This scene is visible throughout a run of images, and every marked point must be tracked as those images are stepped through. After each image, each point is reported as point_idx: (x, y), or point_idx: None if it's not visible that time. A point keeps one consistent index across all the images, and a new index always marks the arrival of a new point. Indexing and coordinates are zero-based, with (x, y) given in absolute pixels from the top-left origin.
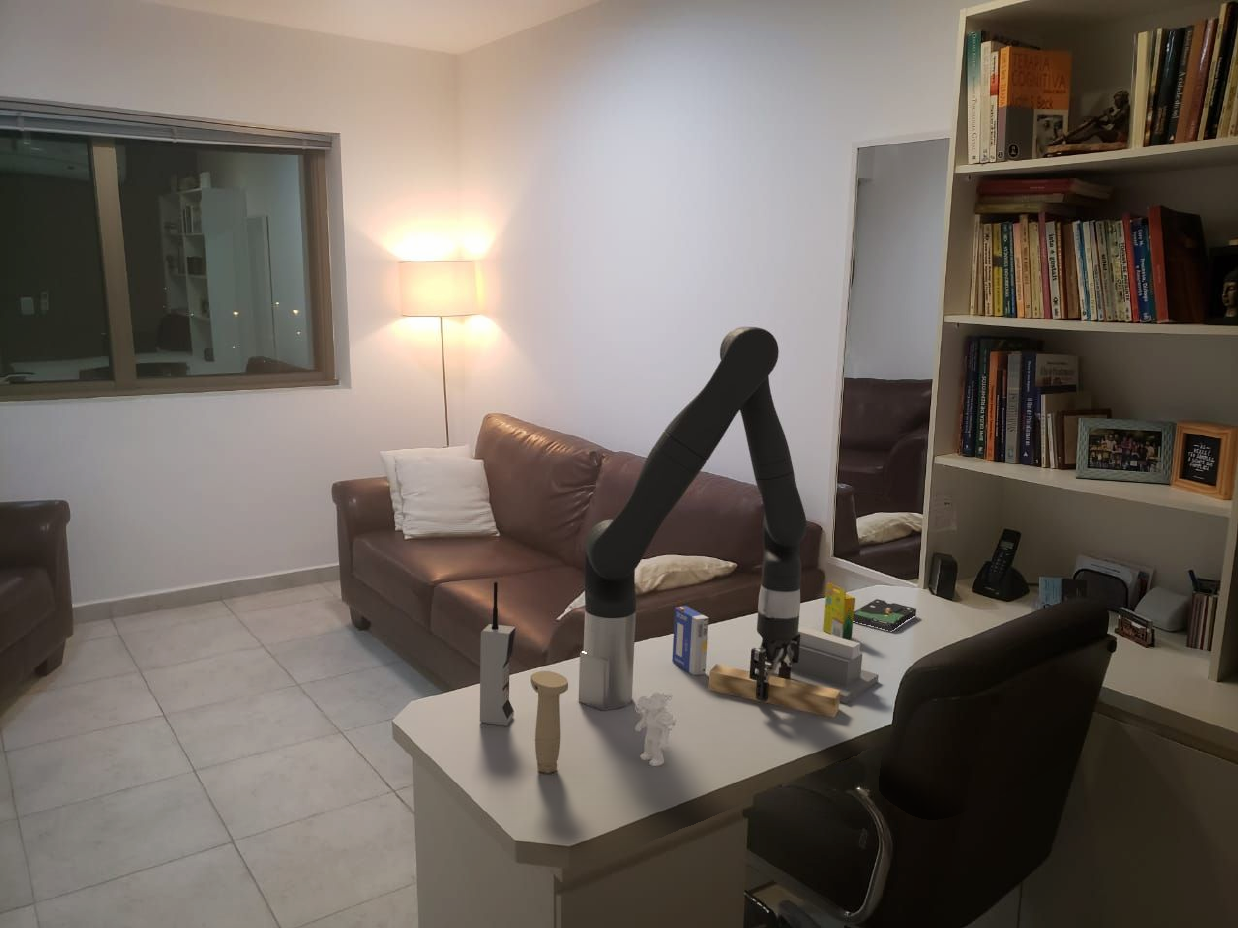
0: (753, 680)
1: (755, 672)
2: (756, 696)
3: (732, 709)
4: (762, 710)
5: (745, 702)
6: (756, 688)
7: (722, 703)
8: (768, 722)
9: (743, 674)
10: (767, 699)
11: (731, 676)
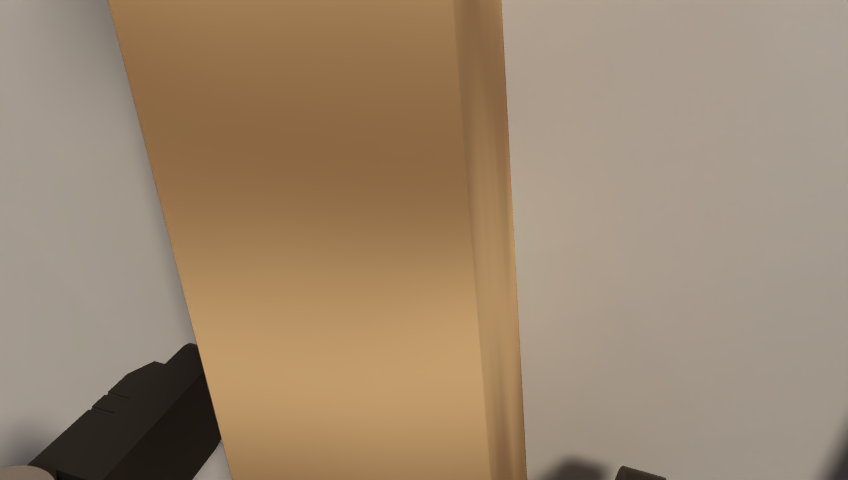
0: (211, 356)
1: (473, 315)
2: (148, 368)
3: (7, 168)
4: None
5: None
6: (80, 420)
7: (30, 38)
8: None
9: (296, 183)
10: (216, 440)
11: (122, 45)
